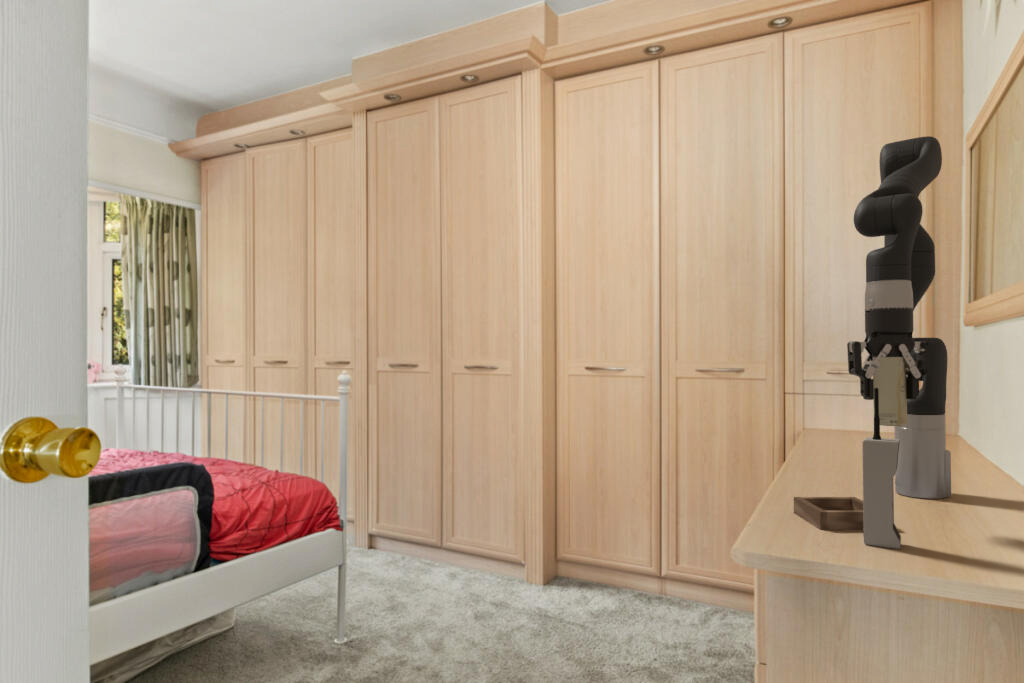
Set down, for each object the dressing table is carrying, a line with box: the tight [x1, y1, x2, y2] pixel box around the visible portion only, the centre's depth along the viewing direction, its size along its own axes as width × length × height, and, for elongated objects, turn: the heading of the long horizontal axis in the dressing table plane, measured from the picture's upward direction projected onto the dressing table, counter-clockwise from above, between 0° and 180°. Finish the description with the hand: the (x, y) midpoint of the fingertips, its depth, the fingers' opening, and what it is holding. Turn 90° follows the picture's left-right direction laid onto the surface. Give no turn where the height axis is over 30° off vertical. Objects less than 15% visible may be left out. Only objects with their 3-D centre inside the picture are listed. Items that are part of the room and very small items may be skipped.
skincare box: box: [872, 357, 907, 427], centre depth 117 cm, size 6×4×12 cm
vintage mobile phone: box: [861, 388, 902, 550], centre depth 104 cm, size 4×5×25 cm
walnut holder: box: [793, 496, 864, 531], centre depth 118 cm, size 11×11×3 cm
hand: (889, 399), depth 117 cm, fingers closed on skincare box, 7 cm apart
